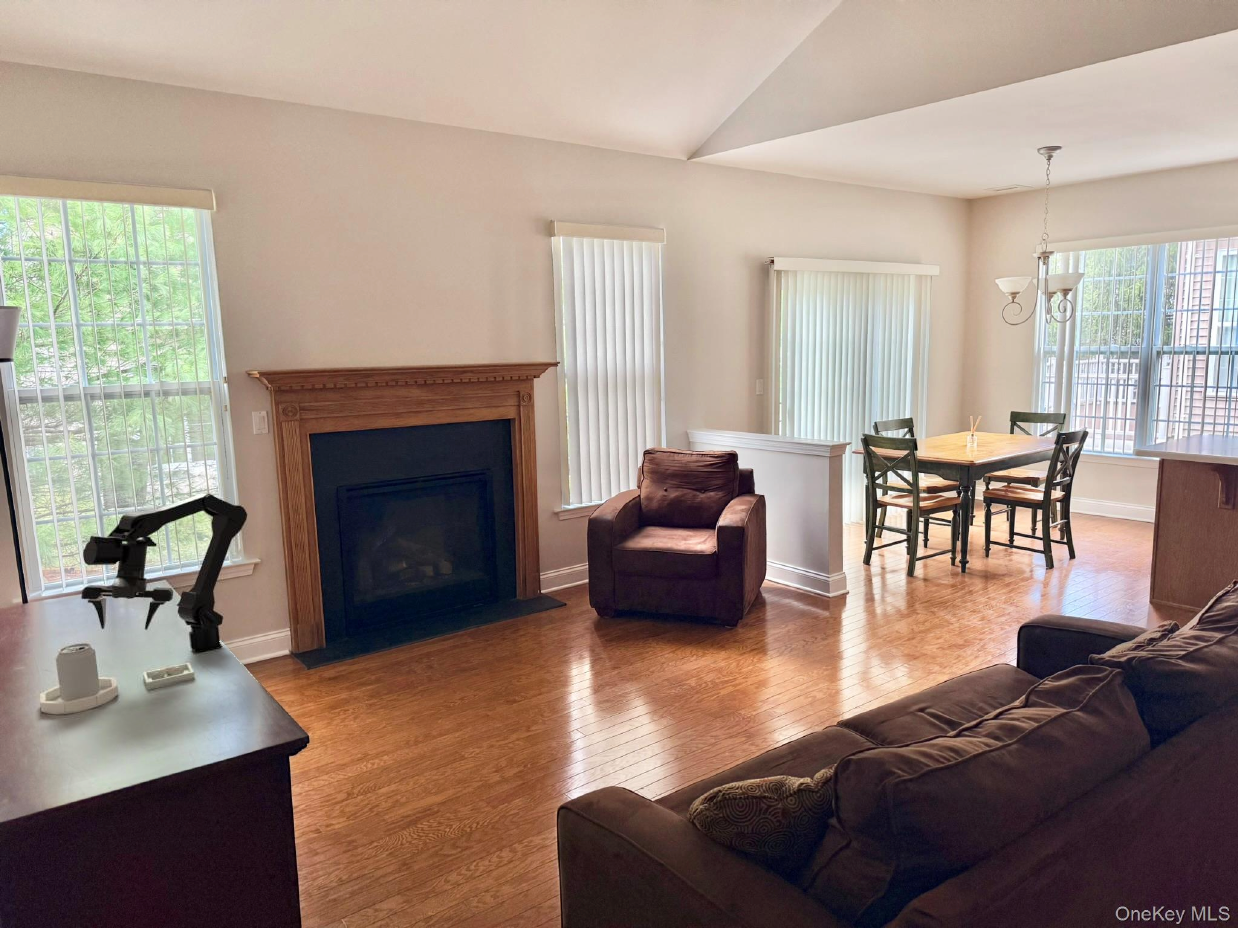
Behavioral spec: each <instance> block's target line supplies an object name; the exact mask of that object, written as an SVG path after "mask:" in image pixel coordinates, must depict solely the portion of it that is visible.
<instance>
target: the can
mask: <svg viewBox="0 0 1238 928" xmlns="http://www.w3.org/2000/svg"><path fill="white" fill-rule="evenodd" d="M57 652H58V654H57V655H56V657H55V662H56V670H57V678H58V685H59V688H60V696H61V699H62V700H64V701H66V702H68V701H72V700H77V699H81V698H86V697H90V696H94V695H96V694H98V693H99V691H100V686H99V678H98V677H99V670H98V663H97V655H96V650H95V649H94V648H93V647H92V644H91V643H88V642H86V643H85V642H82V643H79V642H78V643H73V644H69V645H66V646H63V647H61V648H60V649H58V651H57Z"/></svg>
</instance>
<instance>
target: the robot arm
mask: <svg viewBox="0 0 1238 928" xmlns="http://www.w3.org/2000/svg"><path fill="white" fill-rule="evenodd" d="M201 512H204V513H205V515H208V516H210V517H212V519H211V530H212V536H211V539H210V542H209V545H208V547H207V550H206V552H205V556H204V558H203V560H202V563H201V566H200V568H199V572H198V574H197V576H196V580H195V582H194V584H193V587H191V589H190V590H189V591H186V590H183V591H182V592H181V595H180V599H179V601H178V603H177V604H176V607H178V608H177V614H178V617H179V618H180V619H181V620H183V621H184V623H185V625H186V626H190V631H189V632H188V637H189V646H190V649H191V650H193V652H194V653H196V654H197V653H202V652H205V651H206V652H207V651H211V650H212V651H213V650H215V649H220V648H223V645H222V643H221V639H220V638H221V637H220V628H219V626H221V625H222V624H223V619H224V616H223V615H222V614H220V613H219V612H217V611H215V609H214V608H215V604H216V600H215V593H214V591H215V587H216V585H217V582H218V579H219V576H220V573H221V572H222V571H221V570H222V569H223V565H224V563H225V560H226V557H227V554H228V552H229V548H230V547H231V546H230V545H231V544H232V541H233V539H234V538H235V537H236V536H237V534H239V532H241V531H242V529H243V527H244V525H245V523H246V522H247V519H248V513H247V511H246V509H245V508H244V507H243V506H242V505H239V504H238V505H237V504H233V503H230V502H228V501H225V500H224V499H223V500H222V499H220V498H219V497H217V496H215V495H214V494H210V493H203V492H202V493H197V494H196V495H195V496H192V497H188V498H184V499H183V500H180V501H176V502H173V503H170V504H167V505H165V506H162V507H159V508H156V509H148V510H138V511H134V512H133V511H131V512H127V513H124V514H123V515H122V516H121V518H120V519H119V521H118V524H117V525H116V526H115V527H114V528H113V529H112V530H111V532H109V534H108V535H107V536H99V535H98V536H97V535H91V536H90V537H89V541H88V542H87V543H86V544H85V547H84V548H83V551H82V558H83V561H84V563H85V565H87V566H113V565H116V564H117V563H118V565H117V573H116V576H115V578H114V580H113V582H112V586H111V587H112V588H107V586H106V585H103V584H102V585H99V584H94V585H93V584H89V585H86V586H85V587H84V588H82V591H81V597H80V598H81V599H82V600H87V603H89V604H90V603H91V604H92V606H94V609H95V611H96V614H97V617H98V621H99V624H100V627H101V630H104V629H105V626H106V622H107V621H106V619H107V597H108V598H109V597H111V598H113V599H122V598H123V599H128V600H129V599H132V600H133V599H134V598H141V599H142V598H147V599H149V598H150V599H152V600H151V601H150V602H149V607H148V613H147V614H146V615H147V616H146V621H145V625H144V626H145V627H144V630H146V631H147V630H149V627H150V625H151V622H152V620H153V618H154V616H155V615H156V612H157V611H158V610H159V608H160V606H161V605H162V606H163V605H165V604H166V603H167V602H171V601H172V600H173V597H174V596H173V595H174V590H173V589H172V588H171V587H157V586H156V587H154V588H153V589H151V590H149V589H148V590H147V585H148V584H147V578H146V577H145V570H146V562H147V553H148V547H151V548H152V547H157V545H158V543H156V542H155V541H154V540H153V539H152V537H151V535H153V534H154V533H156V532H158V531H160V530H161V528H163V527H164V526H166V525H167V524H170V523H173V522H176V521H177V520H178V521H179V520H181V519H183V518H186V517H189V516H191V515H192V516H193V515H194V514H195V515H196V514H198V513H201ZM140 538H141V539H140ZM105 597H106V598H105ZM219 641H220V642H219Z"/></svg>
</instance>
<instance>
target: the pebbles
mask: <svg viewBox="0 0 1238 928" xmlns="http://www.w3.org/2000/svg"><path fill="white" fill-rule="evenodd" d="M172 666H173V665H169V666H167V668H166V667H165V668H166V669H165V670H163V669H162V668H158V669H159V670H158V671H157V672H156V673H154V674H153V675H152V680H157V679H161V678H162V677H164V676H165V674H168V675H171V674H173V675H174V676H175V675H179V674H183V673H184V669H183V668H182V667H180V666H177V667H175V668H174V667H172Z"/></svg>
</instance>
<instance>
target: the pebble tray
mask: <svg viewBox="0 0 1238 928" xmlns="http://www.w3.org/2000/svg"><path fill="white" fill-rule="evenodd" d="M171 666H172V667H174V668H175V667H177V666H180V667H182V668H183V669H184V673H183V674H179V675H175V676H174V675H173V674H171V675H168V674H165V676H164V677H162V678H161V679H157V680H152V675H153V674H154V673H156V672H157V671H158V670H159V669H160V668H158V669H154V670H149V671H144V672H142V677H143V678H142V679H143V682H144V685H145V688H146V690H147V691H151V690H153V689H157V688H162V687H167V686H171V685H175V684H179V683H183V682H189V681H193V680H195V679H196V677H195V671H194V669H193V667H192V666H191V663H190V662H186V663H181V664H177V665H176V664H175V665H171ZM167 667H168V666H167ZM167 667H163V668H161V669H163V670H165V669H166V668H167Z"/></svg>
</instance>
